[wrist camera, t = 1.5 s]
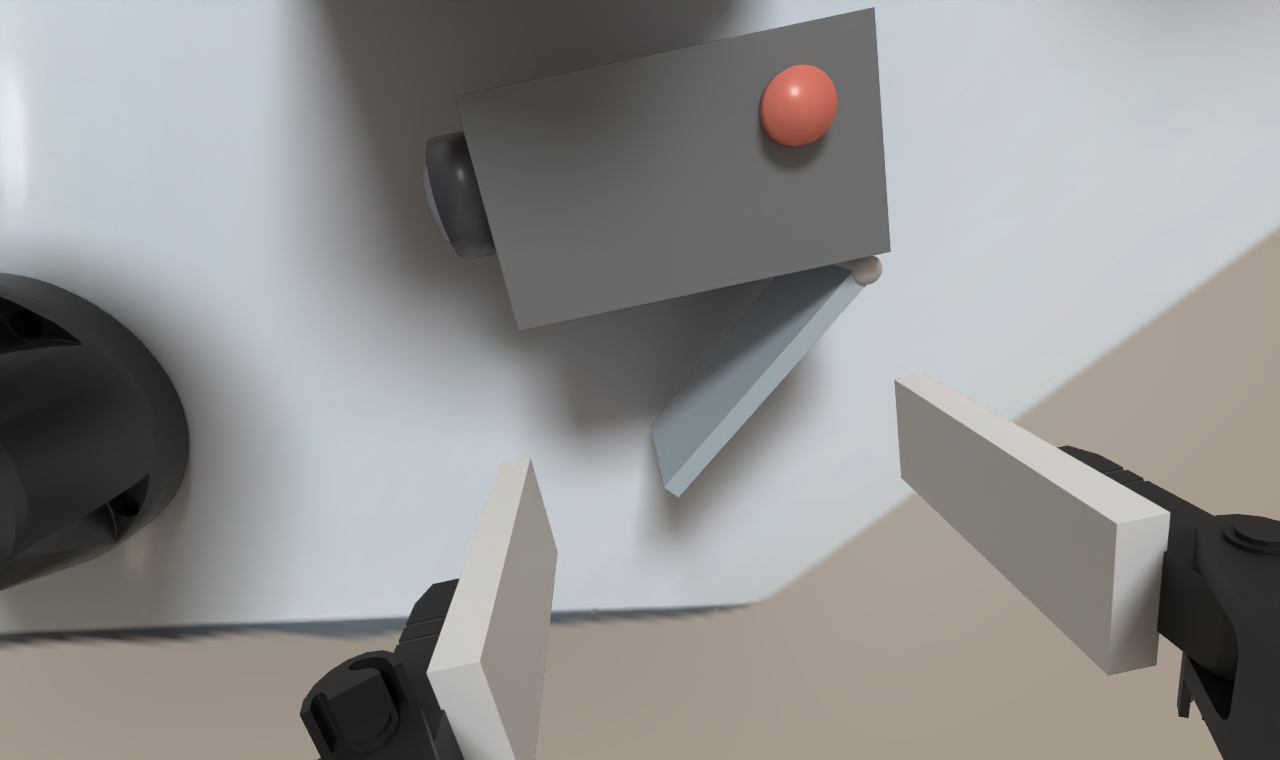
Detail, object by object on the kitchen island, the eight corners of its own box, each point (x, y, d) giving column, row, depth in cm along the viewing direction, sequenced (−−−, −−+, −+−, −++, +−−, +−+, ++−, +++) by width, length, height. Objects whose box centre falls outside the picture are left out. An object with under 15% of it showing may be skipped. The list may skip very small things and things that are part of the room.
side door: (668, 438, 32) (687, 504, 26) (648, 422, 32) (661, 486, 25) (826, 253, 30) (894, 273, 23) (806, 235, 30) (868, 249, 23)
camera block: (493, 303, 31) (447, 354, 21) (446, 135, 28) (369, 109, 19) (809, 236, 31) (901, 258, 21) (790, 62, 28) (885, -1, 19)
